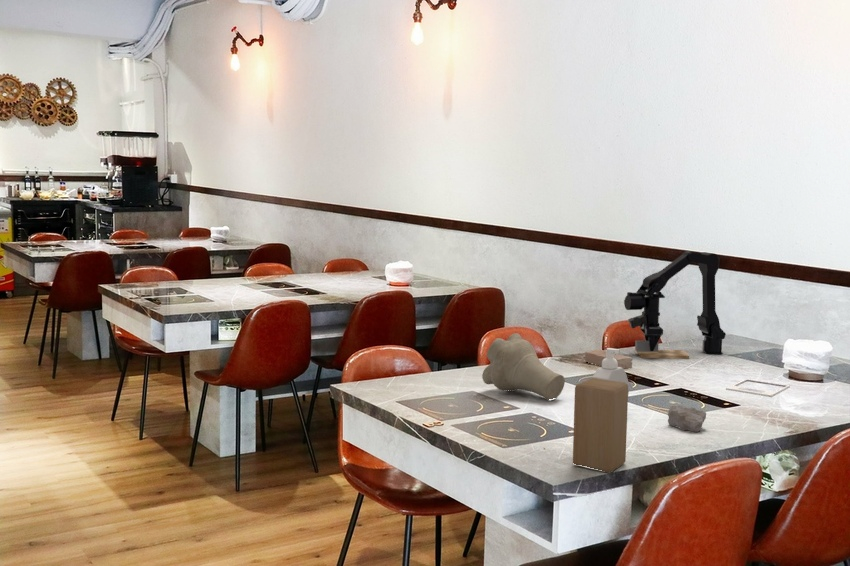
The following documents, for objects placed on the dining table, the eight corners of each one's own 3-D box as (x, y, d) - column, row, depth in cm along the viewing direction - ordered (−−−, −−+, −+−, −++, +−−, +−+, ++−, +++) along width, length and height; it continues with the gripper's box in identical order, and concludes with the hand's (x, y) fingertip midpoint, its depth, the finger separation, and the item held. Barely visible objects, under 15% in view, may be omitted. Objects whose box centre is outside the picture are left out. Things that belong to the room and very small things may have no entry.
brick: (633, 368, 323) (633, 355, 322) (618, 371, 318) (618, 358, 317) (598, 361, 336) (599, 348, 335) (583, 363, 331) (583, 351, 330)
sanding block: (655, 350, 348) (656, 340, 347) (658, 353, 343) (658, 343, 343) (635, 350, 349) (635, 340, 348) (637, 353, 344) (637, 342, 343)
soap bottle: (603, 424, 248) (606, 354, 245) (586, 421, 251) (589, 351, 249) (629, 412, 260) (631, 346, 258) (612, 409, 264) (615, 343, 261)
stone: (663, 429, 244) (664, 408, 244) (671, 422, 251) (672, 402, 250) (699, 434, 239) (700, 413, 239) (707, 427, 246) (708, 407, 246)
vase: (595, 358, 274) (527, 325, 293) (555, 357, 258) (486, 322, 277) (572, 423, 278) (507, 386, 296) (531, 425, 262) (465, 386, 280)
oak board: (683, 353, 350) (683, 350, 350) (689, 358, 339) (689, 355, 339) (636, 352, 352) (636, 349, 351) (641, 357, 341) (641, 354, 341)
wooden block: (588, 455, 220) (591, 376, 217) (626, 463, 214) (630, 382, 212) (570, 466, 211) (573, 384, 209) (610, 474, 206) (613, 390, 203)
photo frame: (725, 387, 290) (745, 378, 304) (725, 390, 290) (745, 381, 304) (771, 394, 281) (789, 385, 295) (771, 398, 281) (789, 388, 295)
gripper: (626, 305, 354) (625, 344, 355) (634, 312, 335) (632, 353, 337) (655, 306, 353) (653, 344, 355) (664, 313, 334) (662, 354, 336)
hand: (649, 349), depth 346 cm, fingers open, 8 cm apart
